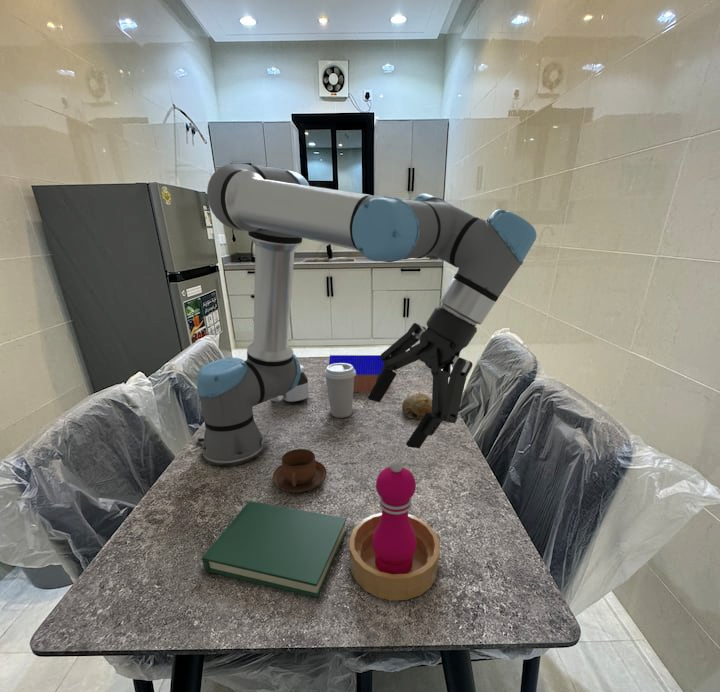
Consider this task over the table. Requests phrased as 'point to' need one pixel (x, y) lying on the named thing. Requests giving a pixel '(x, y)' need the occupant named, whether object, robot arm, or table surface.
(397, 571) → the pepper mill
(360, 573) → the bowl
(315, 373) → the table surface
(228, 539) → the book
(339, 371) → the coffee cup
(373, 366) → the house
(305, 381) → the spread jar
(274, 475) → the cup and saucer
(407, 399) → the bread roll
